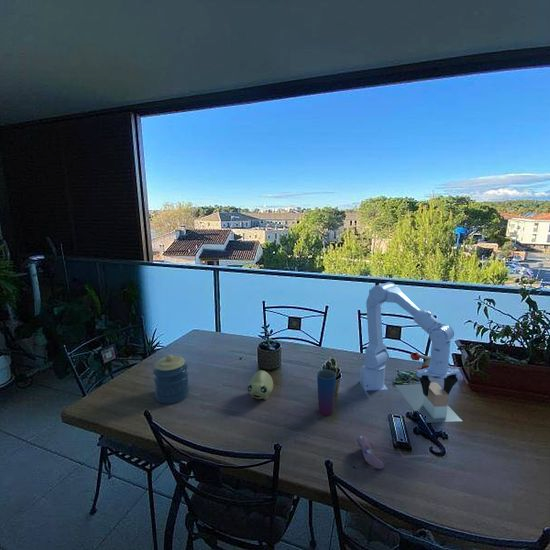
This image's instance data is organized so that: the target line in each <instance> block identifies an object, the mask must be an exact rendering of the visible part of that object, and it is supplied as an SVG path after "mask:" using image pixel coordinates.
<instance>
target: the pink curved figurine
mask: <svg viewBox="0 0 550 550" xmlns="http://www.w3.org/2000/svg"><path fill="white" fill-rule="evenodd" d="M355 440H356V442H355V444H356V446H359V447H360V449H361V451H362V454H363V457H364V460H365V461H366V462H367V463H368V464H369V465H370V466H371V467H373V468H375V469H378V470H382V469H383V468H384V467H385V464H384V462H383V461H382V460H381V459H380V458H378V457H376V456H375V454H374V451H373V450H372V448H373V446H374V443H373V442H372V440H371V439H368V438H367V437H366V436H365V435H364V434H362V435H358V436H356V437H355Z"/></svg>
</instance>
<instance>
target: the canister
mask: <svg viewBox="0 0 550 550" xmlns="http://www.w3.org/2000/svg"><path fill="white" fill-rule="evenodd" d="M188 368H189V366H188V364H187V363H186V359H184V358H183V357H182V356H179V355H174V354H172V353H170V354H169V353H168V354H167V355H166V356H164V357H162V358H159V360H157V361H156V362H155V363H154V368H153V370H152V374H153V375H154V377H153V383H154V396H155V399H156V402H158V403H160V404H162V405H173V404H177V403H179V402H182V401H184V400H185V399H186V398H187V397H188V396H189V393H190V386H189V372H188V371H187V369H188Z"/></svg>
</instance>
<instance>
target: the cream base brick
mask: <svg viewBox="0 0 550 550" xmlns="http://www.w3.org/2000/svg"><path fill="white" fill-rule="evenodd" d="M422 405H423V406H424V407H425V409H426V410H427V411H428V412H429V413H430V415H431V416H432V417H433V418H446V415H447V406H439V407H434V406H433V404H432V403H431V402H430V401H429V400H428V399H427V397H426V396H425V395H424V394H423V404H422Z"/></svg>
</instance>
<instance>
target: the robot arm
mask: <svg viewBox="0 0 550 550" xmlns="http://www.w3.org/2000/svg"><path fill="white" fill-rule="evenodd" d="M385 303H391V304H392V303H393V304H394V303H395V304H397V305H398V306H399V307H400V308H402V309H403V310H405V311H406V312H407V314H408V313H409V315H411V316H412V317H413V321H414V323H415V324H417V325H418V326H419V327H420V328H421V329H422V330H424V332H426V333H427V334H428V335H429V339H430V341H431V348H430V356H429V357H430V364H429V365H428V366H429V368H425V369H421V370H418V369H416V376H417V377H418V379H419V382H420V384H421V385H422V389H423V394H424V395H425V396H428V391H429V386H430V383H431V382H432V381H431V379H430V378H429V377H439V378H441V379H443V388H442V389H443V390H444V391H445V392H446V393H447V394H448V396H449V395H450V393H451V390H452V389H453V387H454V386H455V385H456V383H458V381H459V379H458V377H460V373H461V372H460V370H459V369H457V368H452V367H451V368H450V367H449V360H450V350H451V340H452V339H454V336H455V331H454V329H453V328H452V327H451V325H449V324H446V323H443V322H442V321H439V319H437V318H436V317H435V316H433V315H432V314H433V313H432V312H431V311H430V310H426V309H420V308H419V307H418V306H417V305H416V304H415V303H414V302H413V301H412V299H409V297H408V296H406V294H404V293H403V292H402V290H401V288H400V287H399V286H397V285H396V284H395V283H394V282H393V281H392V282H391V281H387V282H385V283H381V284H378V285H374V286H373V287H371V289H369V290H368V297H367V299H366V303H365V305H366V319H367V332H368V345H367V346H366V349H365V351H364V352H365V354H364V357H363V362H364V365H361V366H360V373H359V383H360V385H361V386H362V387H361V388H363V390H364V391H365V392H367V391H382V390H383V391H387V390H388V387H387V386H386V384H385V375H386V365H387V362H388V361H389V359H390V354H389V351H388V348H387V345H386V344H384V340H383V337H384V336H383V325H382V324H383V323H382V308H381V306H382V305H383V304H385Z"/></svg>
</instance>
